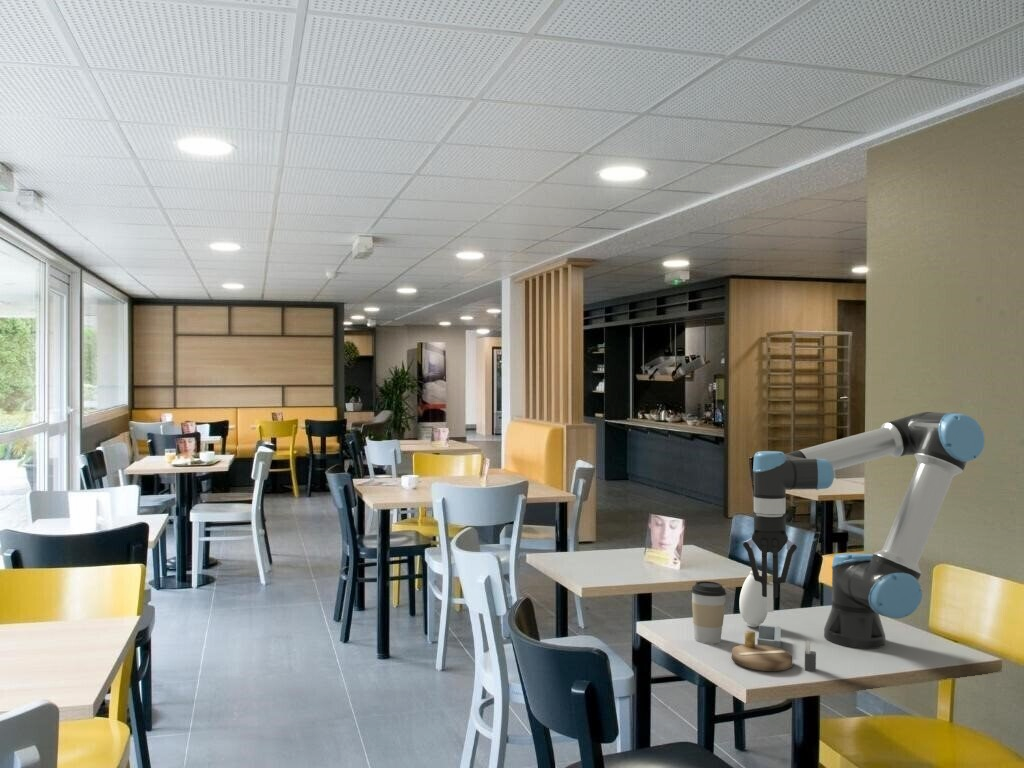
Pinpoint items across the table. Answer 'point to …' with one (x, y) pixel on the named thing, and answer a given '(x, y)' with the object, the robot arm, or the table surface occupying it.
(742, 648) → the disc
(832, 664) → the table surface
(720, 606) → the coffee cup
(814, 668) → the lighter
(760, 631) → the pocket stop
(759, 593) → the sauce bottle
